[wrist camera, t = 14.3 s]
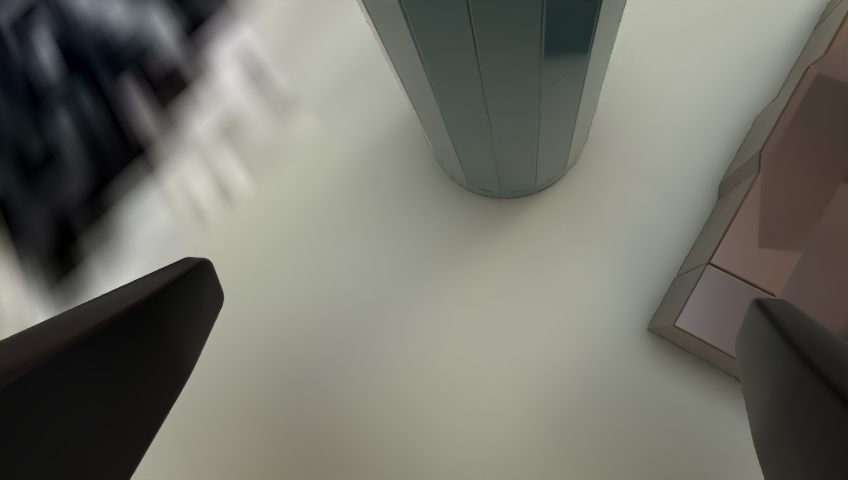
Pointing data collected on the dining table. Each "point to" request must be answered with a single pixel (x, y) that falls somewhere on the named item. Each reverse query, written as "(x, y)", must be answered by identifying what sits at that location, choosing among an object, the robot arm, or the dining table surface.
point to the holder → (775, 212)
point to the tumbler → (499, 82)
